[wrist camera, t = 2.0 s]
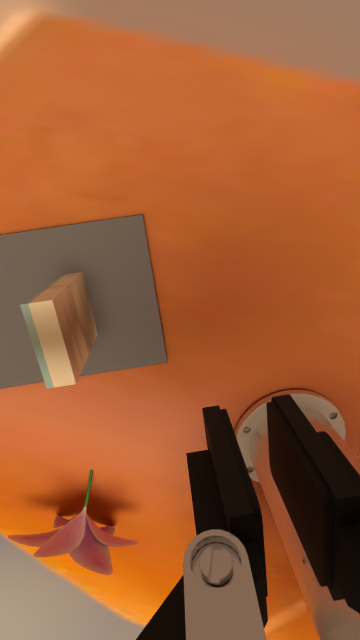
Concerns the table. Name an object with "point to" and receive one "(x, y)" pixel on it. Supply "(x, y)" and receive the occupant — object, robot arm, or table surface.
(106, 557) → the lily
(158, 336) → the mat
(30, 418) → the table surface
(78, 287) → the tile
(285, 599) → the table surface
